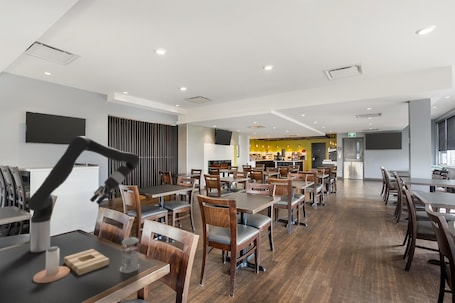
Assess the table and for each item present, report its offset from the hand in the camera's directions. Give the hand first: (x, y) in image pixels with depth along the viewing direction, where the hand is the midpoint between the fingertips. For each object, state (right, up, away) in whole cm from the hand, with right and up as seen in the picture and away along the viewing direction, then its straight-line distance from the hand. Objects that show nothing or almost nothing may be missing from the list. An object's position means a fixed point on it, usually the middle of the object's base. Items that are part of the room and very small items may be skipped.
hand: (94, 202), depth 134 cm
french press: (+25, -31, -14) cm, 42 cm away
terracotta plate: (-8, -30, -22) cm, 38 cm away
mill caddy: (+1, -30, -10) cm, 32 cm away
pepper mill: (-8, -29, -21) cm, 37 cm away
